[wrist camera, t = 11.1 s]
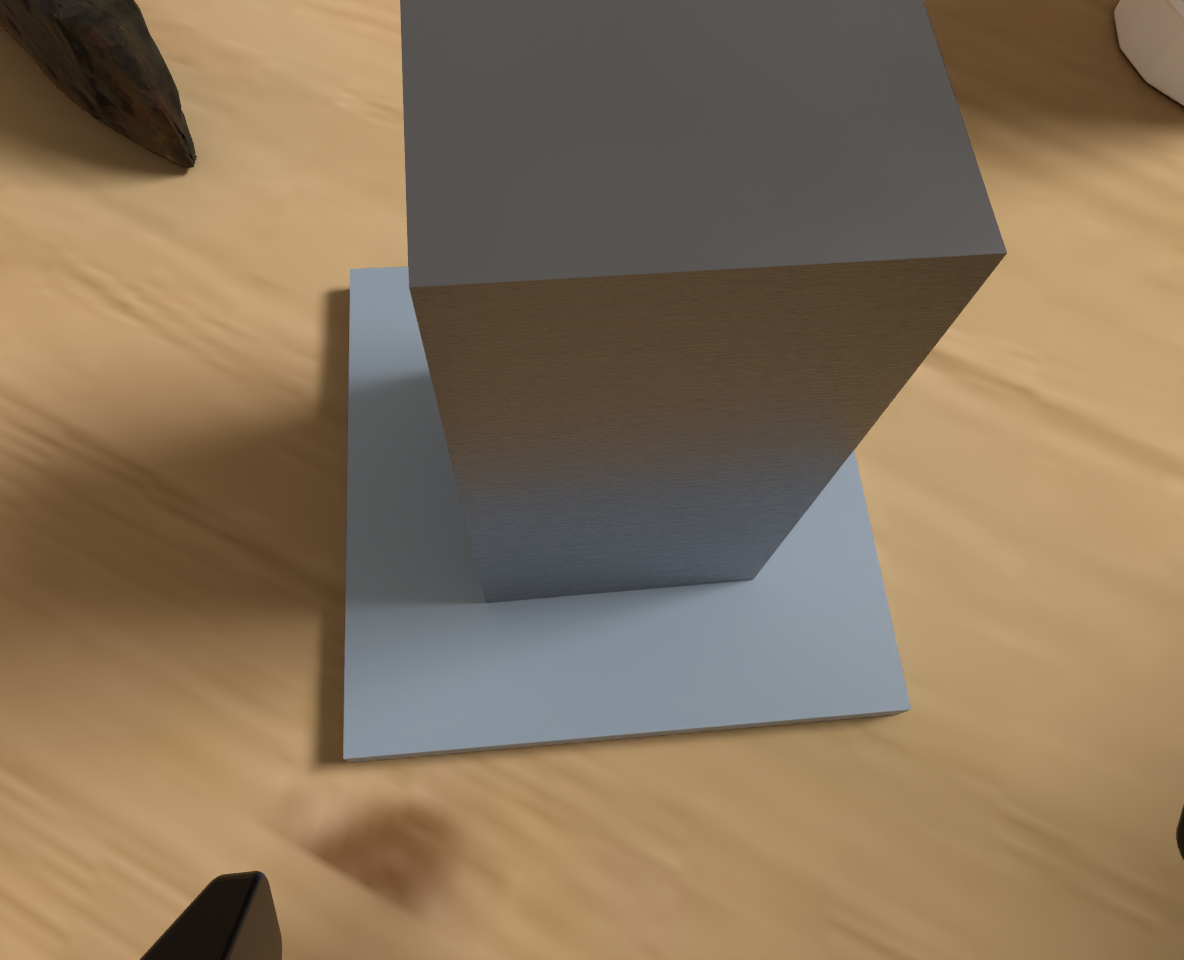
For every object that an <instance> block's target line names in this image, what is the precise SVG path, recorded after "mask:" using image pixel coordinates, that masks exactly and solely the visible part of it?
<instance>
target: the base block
mask: <svg viewBox="0 0 1184 960" xmlns="http://www.w3.org/2000/svg"><path fill="white" fill-rule="evenodd" d="M908 710H911V707H910V702H909V698H908V693H907V688H906V684H905V679H904V675H903V670H902V666H901V661H900V657H899V652H898V647H897V643H896V638H895V634H894V629H893V625H892V620H891V616H890V611H889V606H888V602H887V597H886V593H885V588H884V584H883V579H882V575H881V570H880V565H879V561H878V556H877V552H876V547H875V543H874V538H873V534H872V529H871V524H870V520H869V515H868V511H867V506H866V502H865V497H864V493H863V488H862V483H861V479H860V474H859V470H858V465H857V461H856V456H855V452H854V451H853V452H852V453H851V455H850V456H849V457H848V458H847V460H846V461H845V462H844V464H843V465H842V466H841V467H840V469H839V470H838V471H837V473H836V474H835V475H834V476H833V478H832V479H831V480H830V482H829V483H828V484H827V485H826V487H825V488H824V489H823V491H822V492H821V493H820V494H819V496H818V497H817V498H816V500H815V501H814V502H813V503H812V505H811V506H810V507H809V509H808V510H807V511H806V512H805V514H804V515H803V516H802V518H801V519H800V520H799V521H798V523H797V524H796V525H795V527H794V528H793V529H792V530H791V532H790V533H789V534H788V536H787V537H786V538H785V539H784V541H783V542H782V543H781V545H780V546H779V547H778V549H777V550H776V551H775V552H774V554H773V555H772V556H771V558H770V559H769V560H768V561H767V563H766V564H765V565H764V567H763V568H762V569H761V570H760V572H759V573H758V574H757V576H756V577H755V578H754V579H753V580H748V581H736V582H725V583H713V584H702V585H690V586H679V587H667V588H656V589H644V590H633V591H621V592H610V593H598V594H587V595H575V596H564V597H552V598H541V599H529V600H518V601H506V602H495V603H485V598H484V594H483V590H482V586H481V582H480V578H479V574H478V570H477V565H476V561H475V557H474V553H473V549H472V545H471V541H470V537H469V533H468V528H467V524H466V520H465V516H464V512H463V508H462V504H461V500H460V495H459V491H458V487H457V483H456V479H455V475H454V471H453V467H452V462H451V458H450V454H449V450H448V446H447V442H446V438H445V434H444V430H443V425H442V421H441V417H440V413H439V409H438V405H437V401H436V397H435V392H434V388H433V384H432V380H431V376H430V372H429V368H428V364H427V359H426V355H425V351H424V347H423V343H422V339H421V335H420V331H419V327H418V322H417V318H416V314H415V310H414V306H413V302H412V298H411V294H410V289H409V270H408V267H387V268H365V269H350V323H349V392H348V461H347V531H346V600H345V669H344V739H343V759H344V760H346V761H349V762H363V761H374V760H386V759H397V758H408V757H420V756H431V755H443V754H454V753H465V752H477V751H488V750H499V749H511V748H522V747H534V746H545V745H556V744H568V743H579V742H591V741H602V740H613V739H625V738H636V737H648V736H659V735H670V734H682V733H693V732H704V731H716V730H727V729H739V728H750V727H761V726H773V725H784V724H796V723H807V722H818V721H830V720H841V719H852V718H864V717H875V716H887V715H898V714H900V713H903V712H906V711H908Z"/></svg>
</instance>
